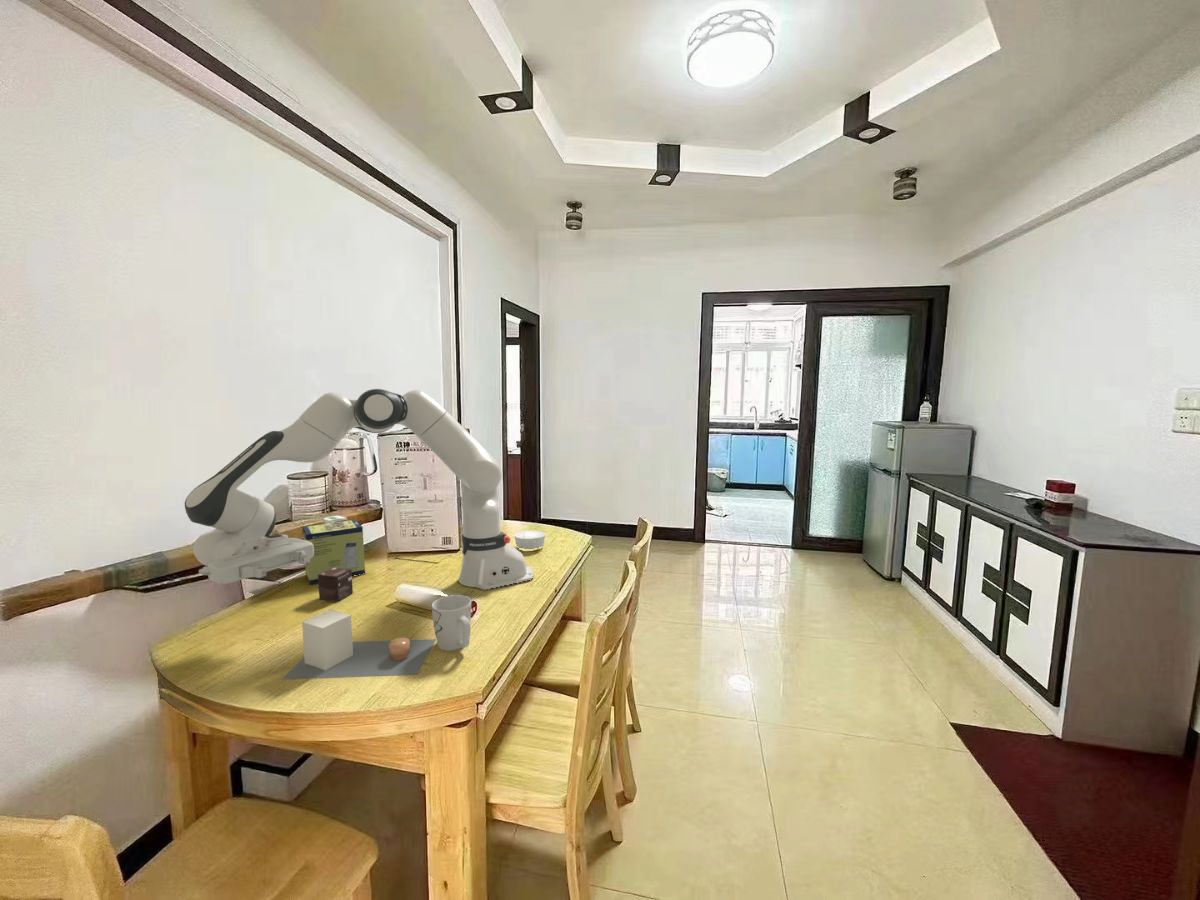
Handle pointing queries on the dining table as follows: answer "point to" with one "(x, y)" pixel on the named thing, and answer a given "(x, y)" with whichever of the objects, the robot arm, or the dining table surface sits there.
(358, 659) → the slate mat
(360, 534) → the protein box
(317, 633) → the white upright block
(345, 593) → the box
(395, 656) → the orange-brown rounded lump
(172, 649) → the dining table surface
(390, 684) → the dining table surface
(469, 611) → the mug
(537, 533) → the ramekin
